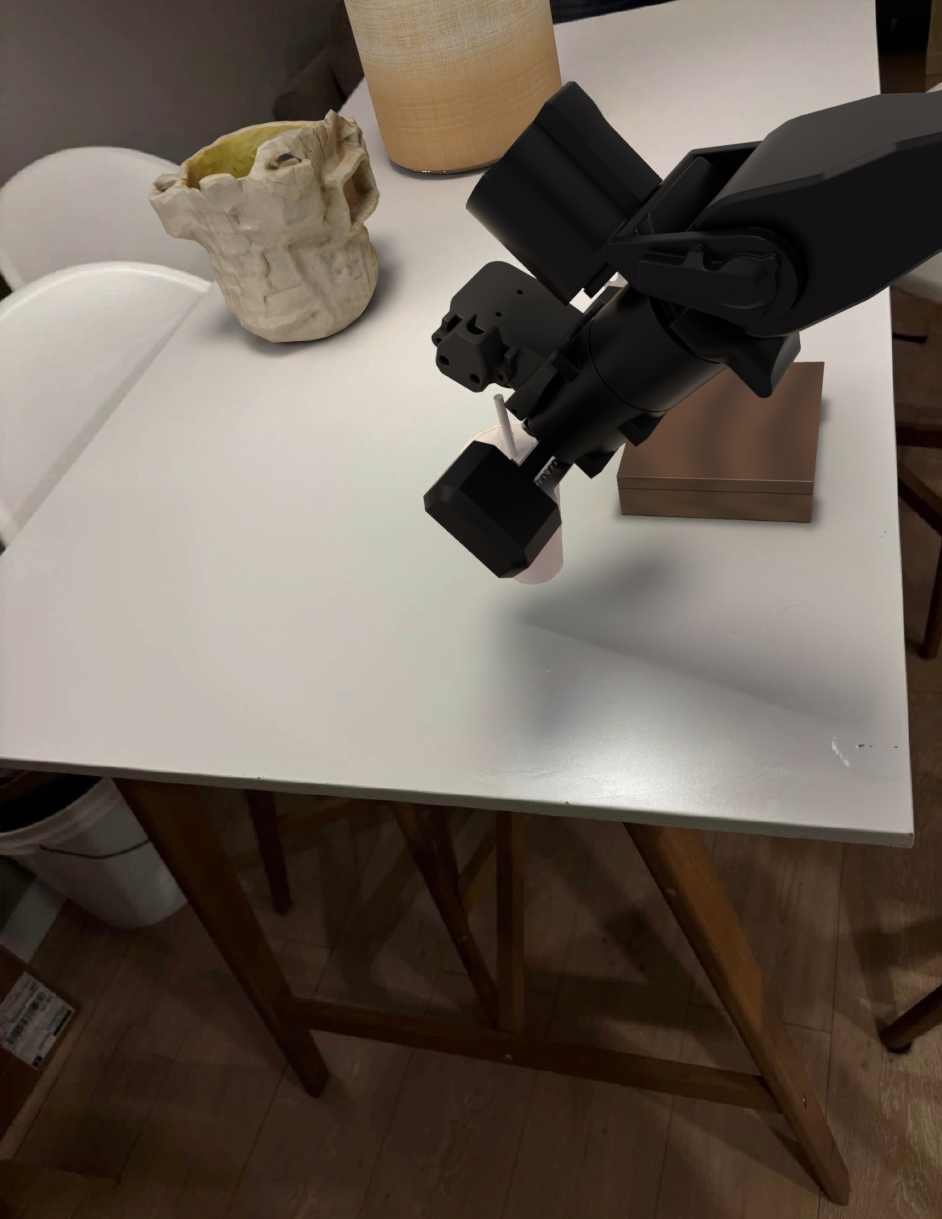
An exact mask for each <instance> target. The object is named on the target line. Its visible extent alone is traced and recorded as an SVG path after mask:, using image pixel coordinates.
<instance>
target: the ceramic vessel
mask: <svg viewBox="0 0 942 1219" xmlns="http://www.w3.org/2000/svg"><path fill="white" fill-rule="evenodd" d="M363 136H364V131H363V129H362V128H361V127H359V126H358V123H357V120H356V119H355V117H354V116H349V117H348V116H340V115H339V113H337V112H336V111H334V110H333V109H329V111H328V112H326V114H325V117H324V119H323V120H279V121H270V122H264V123H260V124H251V125H248V126H246V127H242V128H240V129H237V130H235V131H233V132H231V133H228V134H224V135H221V136H219V137H218V138H217V139H216V140H215V141H213V142H212V143H211V144H209V145H206V146H203V147H202V148H200V149H199V150H198V151H197V152H195V154H193V155H192V156H190V157H188V158H187V159H185V160H184V161H183V162H182V163H181V165H179V171H178V172H176V173H163V174H160V175H159V176H158V177H156V179H155V180H154V181H152V182H151V184H149V186H148V187H149V192H148V201H149V204H150V205H151V207H152V209H153V211H154V212H155V213H156V215H157V217H158V218H159V221H160V223H161V225H162V226H163V228H164V231H165V232H166V234H167V235H168V236H170V237H172V238H174V239H182V240H188V241H193V242H196V243H197V244H198V245H200V246H201V247H203V249H205V250H206V252H207V254H208V258H209V261H210V265H211V268H212V270H213V273H214V277H215V282H216V283H217V285H218V288H219V290H221V293H222V296H223V298H224V301H225V304H226V306H227V308H228V310H229V311H230V312H231V313H232V314H233V315H234V317H235V318H236V319H237V320H238V322H239V324H240V326H241V327H242V328H244V329H245V330H247V331H249V332H250V333H252V334H254V335H256V336H257V337H260V338H262V339H264V340H267V341H269V342H271V343H272V344H273V343H274V344H275V343H286V342H302V341H303V342H305V341H313V340H318V339H325V338H328V337H330V336H333V335H335V334H337V333H339V332H341V331H343V330H345V329H346V328H347V327H349V326H350V325H351V324H353V323H354V322H355V321H356V320H357V319H358V318H360V317H361V316H362V314H363V312H364V311H365V310H366V308H367V307H368V304H369V303H370V301H371V298H372V297H373V294H374V291H375V289H376V285H377V283H378V280H379V279H378V278H379V260H378V252H377V250H376V249H375V246H374V245H373V243H372V242H371V240H370V233H369V230H368V228H367V227H366V225H365V222H366V221H367V220H368V219H369V218H370V217H371V216H372V215H373V214H374V213H375V211H376V210H377V208H378V205H379V202H380V200H379V199H380V197H381V193H380V191H379V189H378V186H377V181H376V178H375V175H374V173H373V169H372V165H371V160H370V154H369V152H368V148H367V143H366V140H365V139H364V137H363Z"/></svg>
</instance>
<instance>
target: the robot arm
mask: <svg viewBox="0 0 942 1219" xmlns="http://www.w3.org/2000/svg"><path fill="white" fill-rule="evenodd" d="M465 210H467V212H469V213H470V215H472V217H474V219H476V220H477V221H478V222H479V223H480V224H481V226H483V228H485V229H486V230H487V232H488V233H490V234H491V236H493V237H494V238H495V240H497V242H499V243H500V244H501V245H502V246H503V247H504V248H505V249H506V250H507V251H508V252H509V253H510V254H511V255H512V256H513V257H514V258H515V259H516V260H517V261H518V262H519V263H520V264H521V265H522V266H523V267H524V268H525V269H526V270H528V271H529V273H530V274H529V273H527V272H525V271H524V270H522V269H520V268H518V267H517V266H515V265H513V264H511V263H510V262H507V261H503V260H493V261H489V262H487V263H485V265H483V266H482V267H481V268H480V269H479V270H478V271H477V272H476V273H475V274H474V275H473V276H472V277H471V278H470V279H469V280H468V281H467V282H466V283H465V284H464V285H463V286H462V287H461V288H460V289H459V290H458V291H457V292H456V293H455V294H454V295H453V297H451V299H450V302H449V310H448V312H447V313H446V314H445V315H444V316H443V317H441V323H440V326H439V327H438V328H437V329H436V330H434V332H433V333H432V334H431V336H430V339H431V343H432V345H434V347H436V351H435V352H436V353H435V360H434V362H435V365H436V367H437V369H438V371H439V372H440V373H441V374H442V375H444V376H446V377H447V378H448V379H450V380H452V381H453V382H455V383H457V384H459V385H460V386H462V387H464V388H465V389H467V390H469V391H470V392H472V393H476V394H479V393H482V392H483V393H484V392H485V390H486V389H487V388H488V387H489V386H490V385H492V384H495V385H497V386H498V387H501V388H505V389H510V390H512V391H513V393H511V395H510V396H509V397H508V398H507V399H506V401H504V402H505V403H504V404H503V406H504V407H505V408H506V410H507V411H509V412H510V414H511V415H513V416H514V417H515V419H517V421H523V422H522V424H521V428H522V429H523V430H524V431H525V432H526V433H527V434H528V435H529V436H531V437H533V438H534V437H535V439H536V440H537V442H536V443H535V444H534V445H533V446H532V448H531V449H530V450H529V451H528V453H527V454H526V455H525V456H524V457H523V459H522V460H521V461H520V462H519V464H518V463H517V462H516V461H514V460H513V459H512V458H511V459H509V458H508V457H507V456H506V455H505V454H504V453H503V452H502V451H501V450H500V449H499V448H497V447H496V446H495V445H493V444H489V443H484V442H480V441H476V440H473V441H472V442H471V443H470V444H469V445H468V446H467V447H466V448H465V450H464V451H463V452H462V453H461V454H460V455H459V454H458V455H459V456H457V457H456V458H455V459H454V460H453V461H452V463H451V464H450V465H449V466H448V467H447V468H446V469H445V471H443V473H442V474H441V475H440V476H439V477H438V478H437V480H435V482H434V483H433V484H432V485H431V486H430V488H429V489H428V490H427V491H426V492H425V493H424V494H423V496H422V498H423V505H424V511H425V513H426V514H428V516H430V517H431V518H432V519H433V520H434V521H435V522H437V523H438V524H439V525H440V526H441V527H442V529H444V530H446V532H447V533H448V534H450V536H452V538H454V539H455V540H456V541H457V542H458V543H459V544H461V545H462V546H463V547H464V548H465V549H466V550H467V551H468V552H469V553H470V554H472V555H473V556H474V558H476V559H477V560H478V561H479V563H481V564H483V566H485V567H486V568H487V569H488V570H489V571H490V572H491V573H492V574H493V575H494V576H495V577H497V578H498V579H514V578H513V577H515V576H516V575H518V574H519V573H521V572H523V571H524V570H526V569H527V568H529V567H530V565H531V564H532V563H533V561H534V560H535V559H536V557H537V556H538V555H539V553H540V552H541V551H542V549H543V548H544V547H545V545H546V544H547V543H548V541H549V540H550V539H551V537H552V536H553V535H554V533H555V532H556V531H557V529H558V528H559V527H560V525H561V526H562V524H563V520H562V514H561V515H560V511H559V506H558V504H557V503H558V501H557V497H556V495H555V492H554V490H555V488H556V487H557V485H558V484H559V485H560V483H561V482H562V480H563V479H564V478H565V476H566V475H567V474H568V472H569V471H570V470H571V468H572V467H573V466H574V465H575V466H577V467H578V469H580V470H581V472H583V473H584V474H585V475H586V476H587V477H588V478H589V479H590V480H592V479H594V478H595V477H597V476H598V475H599V474H601V473H602V472H603V471H604V470H605V468H606V466H607V465H608V464H609V463H610V462H611V460H612V459H613V458H614V456H615V454H616V453H617V452H618V450H619V449H620V448H621V447H622V446H623V445H625V444H626V442H627V441H630V442H631V443H632V444H633V445H634V446H635V447H637V446H638V445H640V444H641V443H642V442H644V441H645V440H647V439H648V438H649V436H650V435H651V434H652V432H653V431H654V429H655V428H656V427H657V425H658V424H659V423H660V421H661V420H662V418H663V417H664V416H665V414H666V413H667V412H668V411H669V410H671V409H672V408H673V407H675V406H676V405H677V404H679V403H680V402H681V401H683V400H684V399H686V398H687V397H688V396H690V395H691V394H692V393H694V392H695V391H696V390H698V389H699V388H700V387H702V386H703V385H704V384H706V383H707V382H709V381H710V380H711V379H713V378H714V377H715V376H717V375H718V374H719V373H721V372H722V371H723V370H725V369H726V368H728V367H729V368H730V369H731V370H732V371H733V372H734V373H735V374H736V375H737V376H738V377H739V378H740V379H741V380H742V381H743V382H744V383H745V384H746V385H747V386H748V387H749V388H750V389H751V390H752V391H753V393H754V394H755V395H756V396H758V397H759V398H762V399H766V398H769V397H770V396H771V395H772V394H773V392H774V391H775V389H776V388H777V386H778V385H779V383H780V382H781V380H782V379H783V377H784V375H785V374H786V372H787V371H788V369H789V368H790V366H791V365H792V363H793V362H795V360H796V359H797V357H798V355H799V354H800V353H801V350H802V345H801V334H800V332H803V331H805V330H806V329H808V328H811V327H813V326H816V325H818V324H820V323H822V322H824V321H826V320H828V319H830V318H833V317H835V316H837V315H839V314H841V313H843V312H845V311H847V310H850V309H852V308H854V307H856V306H858V305H861V304H863V303H865V302H867V301H869V300H870V299H872V298H874V297H875V296H877V295H878V294H880V293H882V292H883V291H884V290H886V289H887V288H889V287H890V286H892V285H893V284H895V283H897V282H898V281H899V280H901V279H902V278H904V277H905V276H907V275H908V274H909V273H911V272H912V271H914V270H916V269H917V268H919V267H920V266H922V265H923V264H924V263H927V262H928V261H929V260H931V259H932V258H934V257H935V256H937V255H939V254H940V253H942V89H938V90H935V91H929V92H926V91H925V92H903V93H902V92H900V93H899V92H898V93H879V94H874V95H870V96H867V97H863V98H860V99H857V100H853V101H849V102H844V103H842V104H838V105H835V106H830V107H827V108H823V109H819V110H816V111H812V112H809V113H805V114H802V115H798V116H795V117H793V118H790V119H787V120H786V121H784V122H783V123H782V124H780V125H779V126H777V127H776V128H774V129H773V130H772V131H770V132H768V134H767V135H766V136H765V137H764V138H763V140H755V141H754V140H753V141H747V142H739V143H729V144H722V145H715V146H708V147H699V148H692V149H691V150H689V151H688V152H687V153H686V155H685V156H683V157H682V159H681V160H679V162H678V163H677V164H676V165H675V167H673V169H672V170H671V171H670V172H669V173H668V174H667V176H665V178H664V179H663V178H662V177H661V176H660V175H659V174H658V173H657V172H656V171H655V170H654V169H653V168H652V167H651V165H649V163H648V162H646V161H645V159H644V158H643V157H642V156H641V155H640V154H639V153H638V152H637V151H636V150H635V149H634V148H633V147H632V146H631V145H630V144H629V143H628V141H627V140H625V138H623V137H622V135H621V134H620V133H619V132H618V131H617V130H616V129H615V128H614V127H613V126H612V125H611V124H610V123H609V121H608V120H607V119H606V118H605V116H604V115H603V113H602V111H601V110H600V108H599V106H598V105H597V103H596V102H595V101H594V100H593V99H592V98H591V97H590V95H589V94H587V92H586V91H585V90H584V89H583V88H582V87H581V86H580V85H579V84H578V82H576V81H575V80H568V81H567V82H566V83H565V84H563V85H562V88H561V89H559V90H558V91H557V92H556V93H555V94H554V95H553V96H552V97H551V98H549V99H548V100H547V101H546V102H545V103H544V105H543V106H542V108H541V109H540V111H539V113H538V114H537V116H536V117H535V119H534V120H533V122H532V123H531V124H530V125H529V126H528V127H527V128H526V129H525V130H524V132H523V133H522V134H521V135H520V136H519V137H518V138H517V140H516V141H515V142H514V143H513V144H512V146H511V147H510V148H509V149H508V150H507V152H506V153H505V154H504V156H503V157H502V158H501V159H499V160H498V161H497V162H496V163H495V164H493V165H491V167H489V168H488V169H487V170H486V171H485V172H484V173H483V174H482V175H481V177H480V178H479V180H478V181H477V182H476V184H475V186H474V187H473V189H472V191H471V193H470V195H469V196H468V198H467V201H466V203H465ZM617 272H618V273H619V274H620V275H621V276H622V277H623V278H624V279H625V280H626V281H627V282H628V283H627V284H626V285H625V286H624V287H617V286H609V285H608V286H607V287H606V289H605V288H604V285H605V284H606V283H607V282H608V281H611V279H612V278H613V277H614V276H615V275H616V274H618V273H617ZM603 288H604V290H602V289H603ZM601 290H602V292H600V291H601ZM581 291H582V292H583V294H585V295H586V296H587V297H588V298H589V299H590V300H592V299H593V298H594V297H595V296H596V295H597V294H599V295H598V296H597V297H596V298H594V299H593V301H591V303H590V304H589V306H588V307H587V308H586V309H585V310H584V311H581V310H580V309H579V308H577V307H576V306H575V305H573V304H572V303H571V302H572V301H573V300H574V299H575V298H576V297H577V296H578V295H579V293H580V292H581ZM599 292H600V293H599ZM552 456H553V457H555V459H553V460H552V461H551V463H552V464H551V463H550V464H549V465H548V466H547V467H548V468H546V469H545V470H544V471H543V472H544V473H542V474H541V475H540V478H538V479H537V480H535V478H536V476H537V475H538V474H539V473H540V471H541V470H542V469H543V468H544V466H545V465H546V464H547V463H548V461H549V460H550V459H551V458H552ZM537 484H538V485H537Z"/></svg>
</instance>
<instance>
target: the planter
mask: <svg viewBox="0 0 942 1219" xmlns="http://www.w3.org/2000/svg"><path fill="white" fill-rule="evenodd" d="M343 3H344V6H345V9H346V12H347V17H348V20H349V23H350V26H351V31H352V35H353V38H354V41H355V46H356V48H357V52H358V56H359V59H360V64H361V67H362V70H363V74H364V78H365V81H366V84H367V89H368V92H369V97H370V100H371V104H372V107H373V112H374V115H375V119H376V122H377V126H378V129H379V133H380V137H381V141H382V144H383V147H384V149H385V151H386V154H387V156H388V158H389V159H390V160H391V161H392V162H393V163H395V164H396V165H397V166H399V167H402V168H403V169H407V170H410V171H413V172H416V173H421V174H428V175H429V174H430V175H447V174H456V173H457V174H458V173H464V172H470V171H474V170H478V169H482V168H486V167H488V166H493V165H494V164H495V163H496V162H497V161H498V160H499V159H501V158H502V157H503V156H504V154H505V153H506V152H507V150H508V149H509V148H510V147H511V146H512V144H513V143H514V142H515V141H516V140H517V138H518V137H519V136H520V135H521V134H522V133H523V132H524V130H525V129H526V128H527V127H528V126H529V125H530V124H531V123H532V122H533V120H534V119H535V117H536V116H537V114H538V113H539V111H540V109H541V108H542V106H543V105H544V103H545V102H546V101H547V100H548V99H549V98H551V97H552V96H553V95H554V94H555V93H556V92H557V91H558V90H559V89H561V88H562V87H563V81H562V74H561V69H560V62H559V56H558V48H557V43H556V37H555V36H556V35H555V30H554V23H553V17H552V10H551V4H550V0H343ZM415 170H416V171H415ZM422 171H427V172H422ZM428 171H430V172H428ZM444 171H445V172H444Z"/></svg>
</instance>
